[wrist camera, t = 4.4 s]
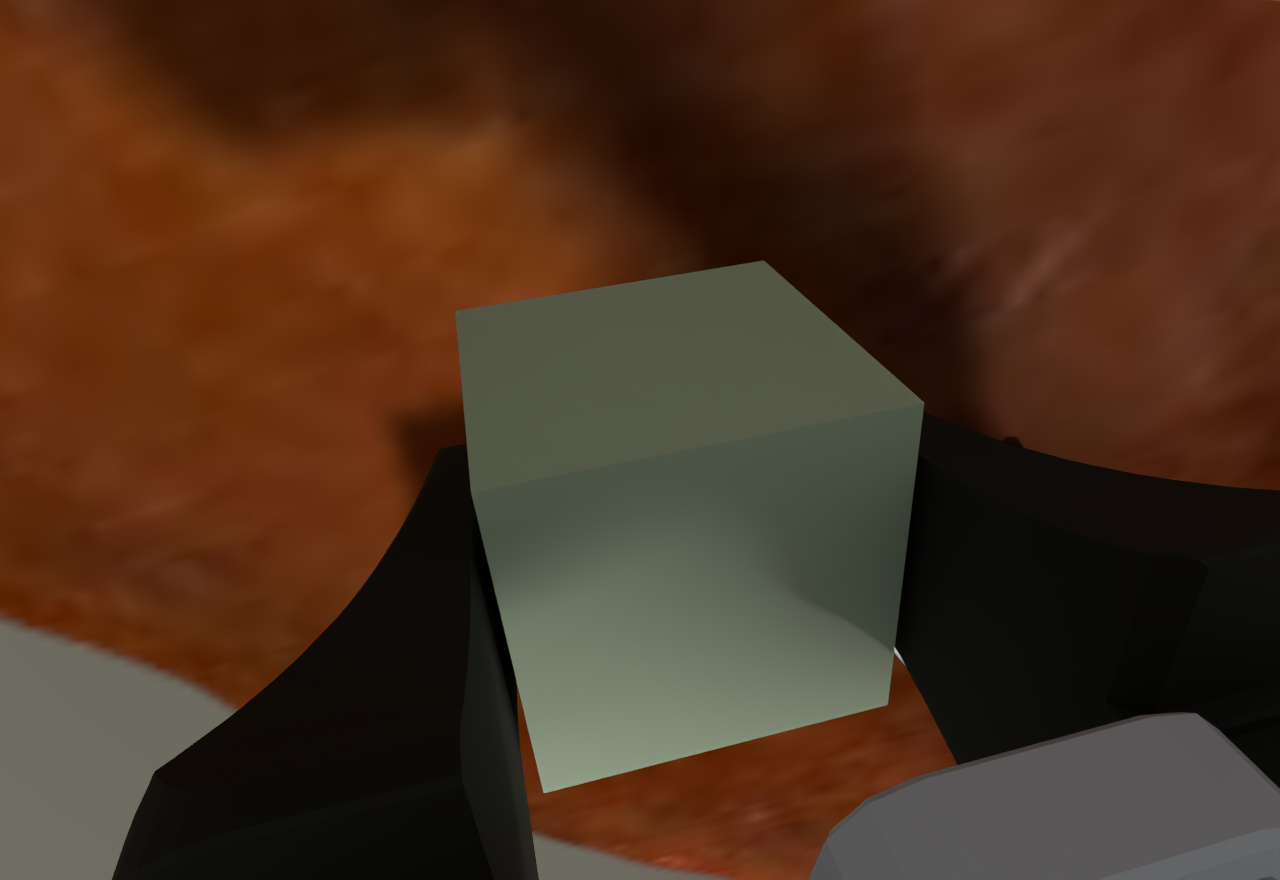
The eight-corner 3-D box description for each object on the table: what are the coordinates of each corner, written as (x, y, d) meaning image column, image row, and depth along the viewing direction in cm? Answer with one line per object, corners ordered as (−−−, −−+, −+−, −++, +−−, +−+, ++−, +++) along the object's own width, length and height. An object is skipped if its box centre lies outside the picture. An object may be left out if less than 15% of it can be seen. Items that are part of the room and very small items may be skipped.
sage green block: (763, 505, 16) (887, 704, 11) (510, 559, 15) (543, 793, 11) (763, 260, 13) (924, 402, 9) (455, 311, 12) (471, 493, 8)
